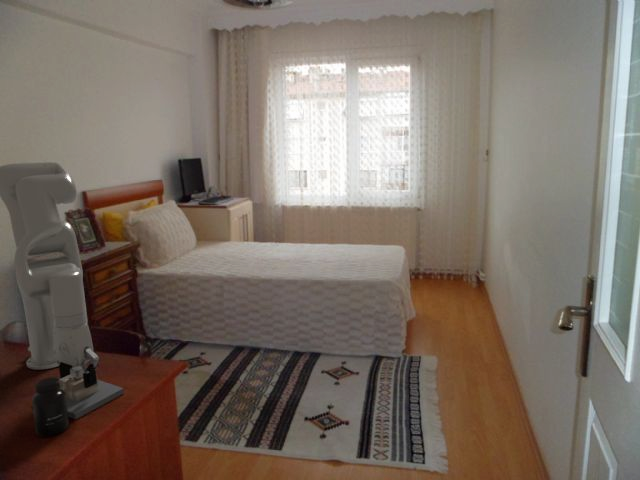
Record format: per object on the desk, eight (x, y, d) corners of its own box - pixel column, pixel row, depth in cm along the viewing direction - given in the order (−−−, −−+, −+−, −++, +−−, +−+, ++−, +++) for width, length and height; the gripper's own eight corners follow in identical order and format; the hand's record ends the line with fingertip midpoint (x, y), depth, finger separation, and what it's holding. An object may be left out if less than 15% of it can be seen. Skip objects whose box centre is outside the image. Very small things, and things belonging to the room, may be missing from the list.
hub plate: (36, 403, 125) (35, 398, 125) (85, 380, 137) (84, 375, 137) (75, 419, 118) (74, 414, 117) (123, 393, 130) (123, 388, 129)
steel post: (73, 394, 127) (69, 369, 125) (81, 390, 129) (78, 365, 127) (79, 396, 126) (75, 371, 124) (87, 392, 128) (84, 367, 126)
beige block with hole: (60, 395, 126) (58, 378, 125) (83, 384, 132) (81, 368, 131) (76, 401, 123) (74, 384, 122) (98, 390, 129) (96, 373, 128)
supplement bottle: (55, 439, 110) (48, 390, 108) (29, 436, 111) (21, 388, 109) (76, 422, 117) (70, 376, 114) (51, 419, 118) (44, 373, 116)
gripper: (35, 318, 124) (44, 380, 128) (78, 329, 116) (87, 395, 119) (63, 309, 131) (71, 368, 134) (106, 319, 122) (113, 382, 126)
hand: (78, 381), depth 127 cm, fingers open, 9 cm apart
